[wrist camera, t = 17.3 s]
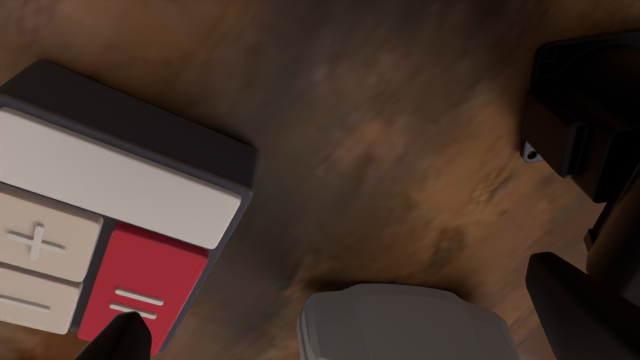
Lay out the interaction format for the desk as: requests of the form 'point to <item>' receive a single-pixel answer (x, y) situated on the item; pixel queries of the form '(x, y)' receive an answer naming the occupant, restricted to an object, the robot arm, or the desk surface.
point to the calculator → (109, 205)
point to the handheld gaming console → (400, 326)
